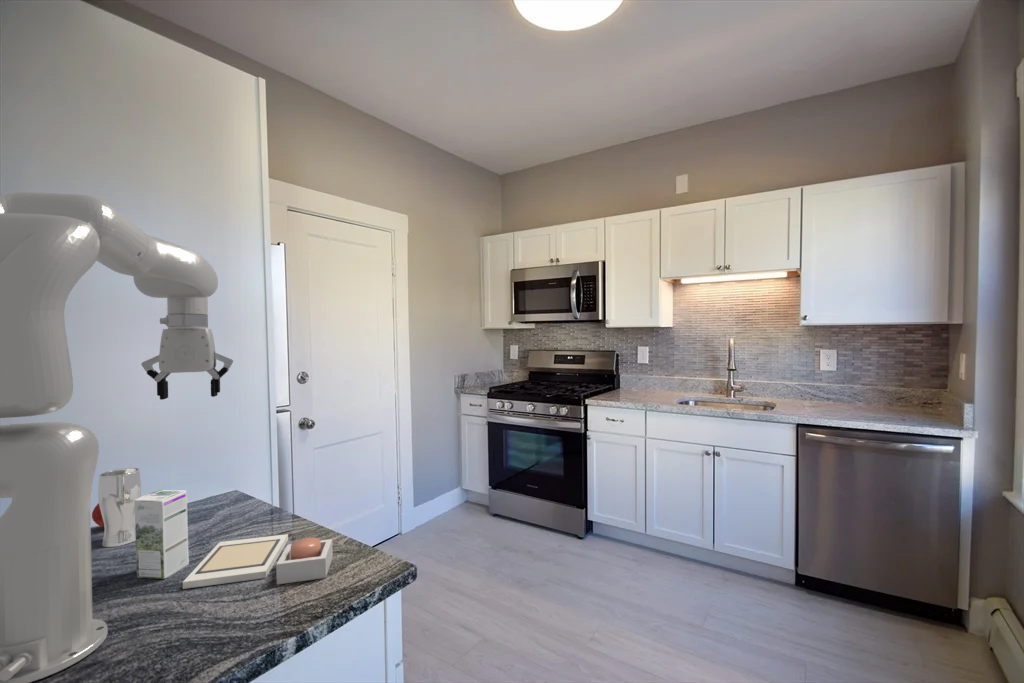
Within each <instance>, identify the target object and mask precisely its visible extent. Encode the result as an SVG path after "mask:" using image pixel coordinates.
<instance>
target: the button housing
mask: <svg viewBox="0 0 1024 683" xmlns="http://www.w3.org/2000/svg"><path fill="white" fill-rule="evenodd" d="M320 542H321V555H320V556H319V557H311V558H303V559H295V560H291V545H292V544H293V543H288V544H287V545H286V546H285V547H284V549H283V552H282V554H280V555H281V556H280V557H279V559H278V561H276V565H275V566H276V567H275V569H276V573H275V574H276V585H283V584H289V583H297V582H298V583H299V582H305V581H312V580H318V579H326V578H327V575H328V572H329V570H330V567H331V563H332V562H333V561H332V560H333V558H334V557H333V556H334V555H333V553H334V552H333V548H334V547H333V538H331V539H322V540H321V539H320Z"/></svg>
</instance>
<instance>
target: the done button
mask: <svg viewBox="0 0 1024 683" xmlns="http://www.w3.org/2000/svg"><path fill="white" fill-rule="evenodd" d="M320 540H321V539H320V538H319V537H305V538H301V539H298V540H296V541H294V542H292V543H291V544H292V545H291V560H295V559H303V558H311V557H319V556H320V555H321V542H320Z"/></svg>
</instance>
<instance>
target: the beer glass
mask: <svg viewBox="0 0 1024 683" xmlns="http://www.w3.org/2000/svg"><path fill="white" fill-rule="evenodd" d="M98 476H99V478H98V490H97V491H98V492H97V495H98V496H97V497H98V503H99V506H100V510H101V514H102V518H103V522H104V527H103V528H104V533H103V538H102V543H101V545H102V547H104V548H114V547H119V546H124V545H127V544H131V543H133V542H136V533H135V503H134V501H135V500H136V499H138V498H140V497H142V496H141V495H142V485H141V483H142V482H141V481H142V480H141V474H140V468H138V467H124V468H118V469H117V468H116V469H113V470H109V471H105V472H101V473H100V474H99V475H98Z"/></svg>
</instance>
